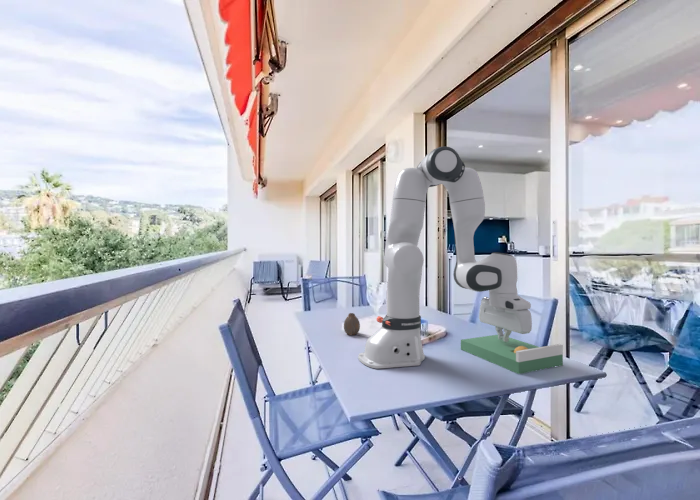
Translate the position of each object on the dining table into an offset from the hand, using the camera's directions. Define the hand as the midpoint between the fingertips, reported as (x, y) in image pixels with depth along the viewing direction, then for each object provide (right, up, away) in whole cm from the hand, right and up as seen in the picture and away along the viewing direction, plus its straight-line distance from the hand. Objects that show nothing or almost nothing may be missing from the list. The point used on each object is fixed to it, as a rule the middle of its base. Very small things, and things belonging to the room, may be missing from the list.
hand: (503, 340), depth 121 cm
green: (+1, -5, -2) cm, 5 cm away
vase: (-52, -5, +30) cm, 60 cm away
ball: (+3, -2, -8) cm, 9 cm away
